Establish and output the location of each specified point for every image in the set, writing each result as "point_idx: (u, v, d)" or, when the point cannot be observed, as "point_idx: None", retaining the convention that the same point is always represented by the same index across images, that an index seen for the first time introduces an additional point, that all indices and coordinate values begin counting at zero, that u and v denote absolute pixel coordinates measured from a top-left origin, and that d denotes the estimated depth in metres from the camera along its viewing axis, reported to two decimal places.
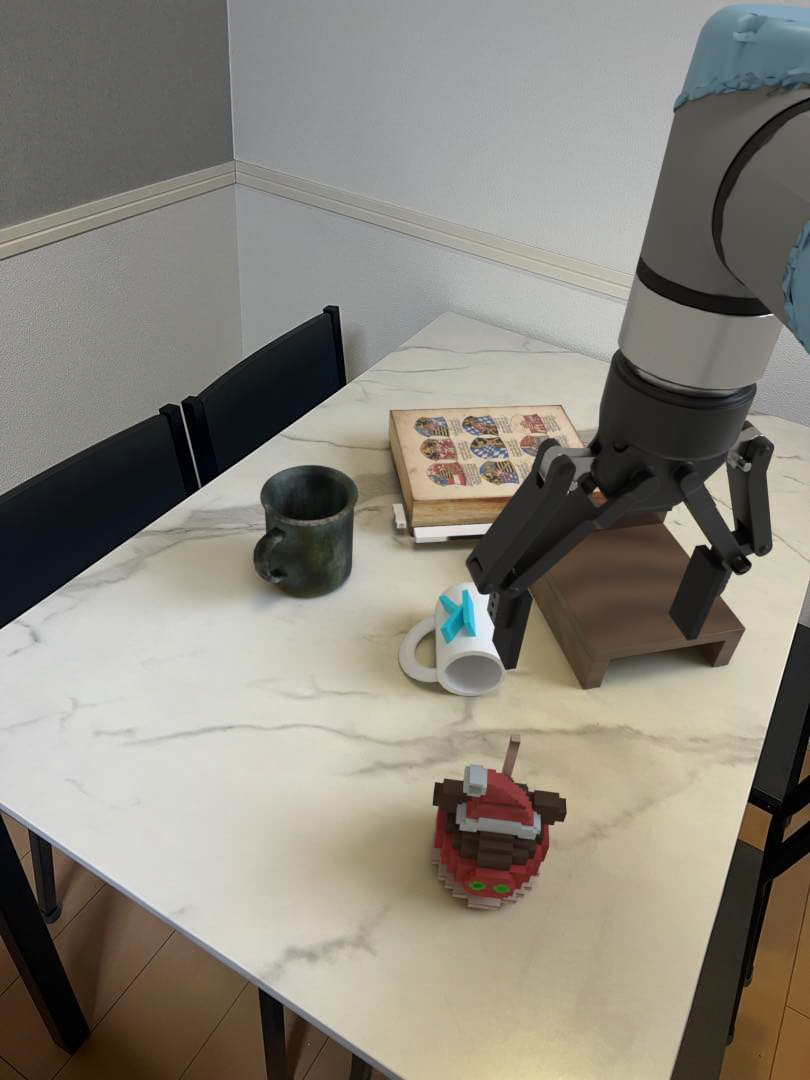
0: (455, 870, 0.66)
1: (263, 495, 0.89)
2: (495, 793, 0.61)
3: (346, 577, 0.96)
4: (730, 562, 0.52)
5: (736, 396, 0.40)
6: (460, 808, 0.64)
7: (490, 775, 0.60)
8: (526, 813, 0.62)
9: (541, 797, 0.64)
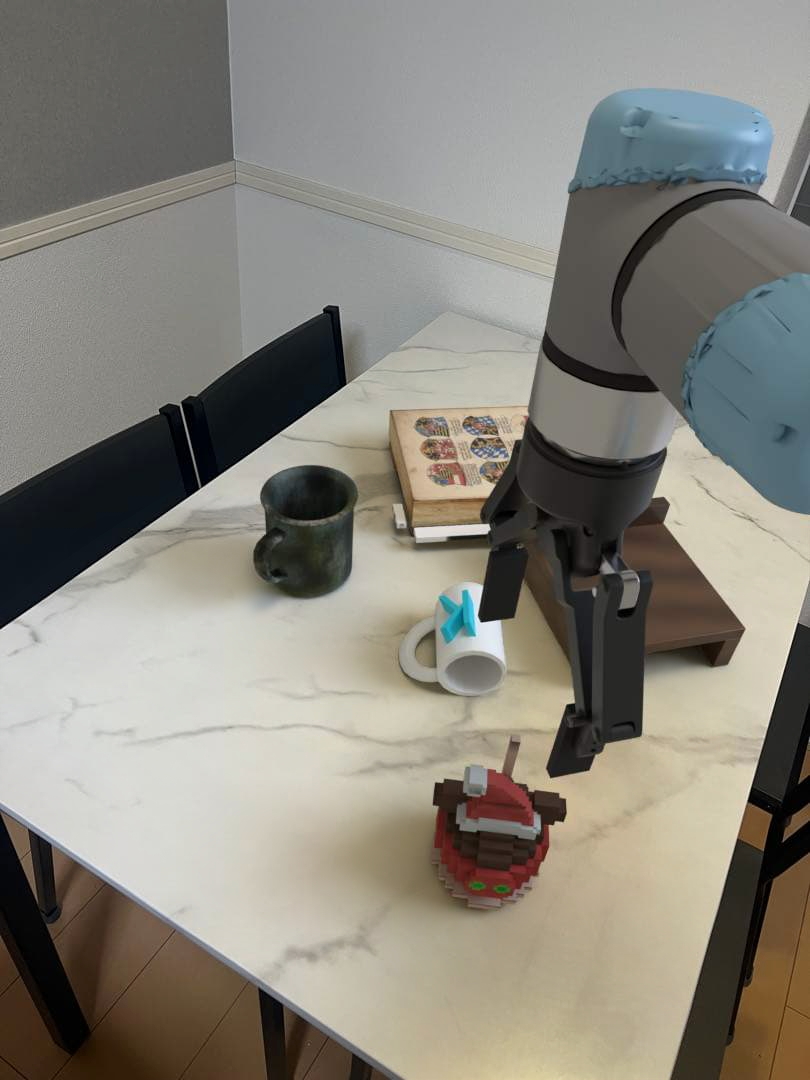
0: (455, 870, 0.66)
1: (263, 495, 0.89)
2: (495, 793, 0.61)
3: (346, 577, 0.96)
4: (577, 709, 0.45)
5: (548, 449, 0.41)
6: (460, 808, 0.64)
7: (490, 775, 0.60)
8: (526, 813, 0.62)
9: (541, 797, 0.64)
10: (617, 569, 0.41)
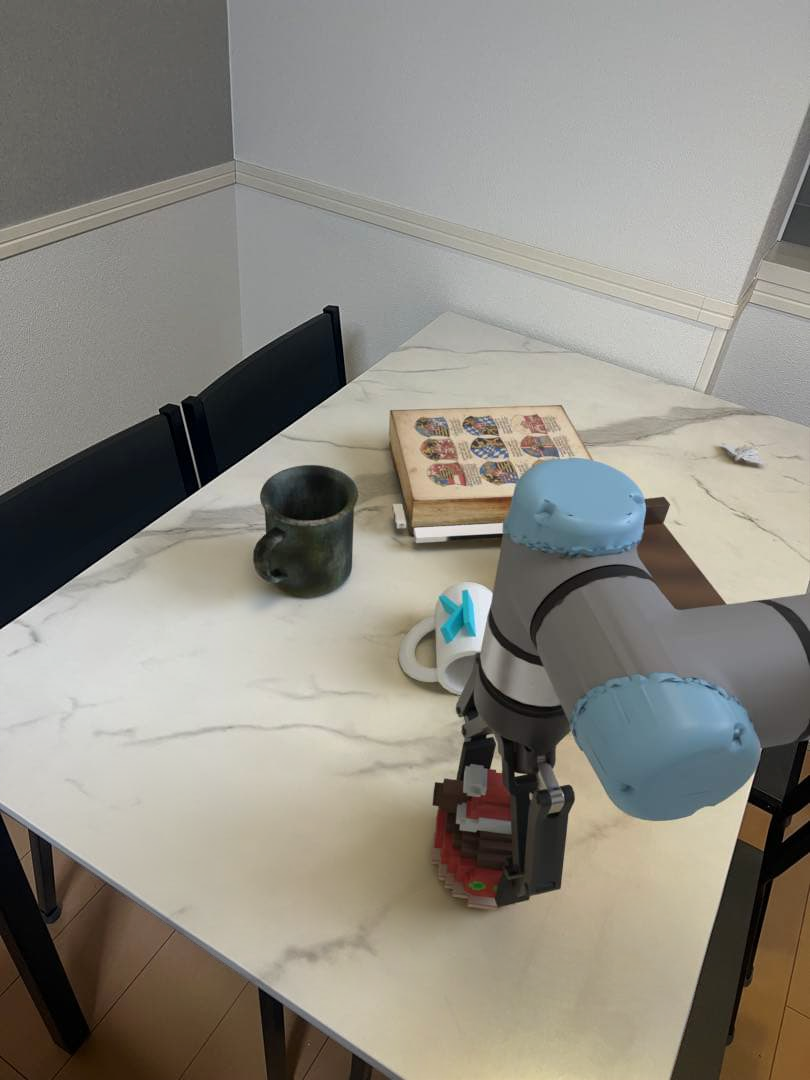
0: (455, 870, 0.66)
1: (263, 495, 0.89)
2: (495, 793, 0.61)
3: (346, 577, 0.96)
4: (513, 863, 0.59)
5: (495, 690, 0.53)
6: (460, 808, 0.64)
7: (490, 775, 0.60)
8: None
9: None
10: (548, 785, 0.53)
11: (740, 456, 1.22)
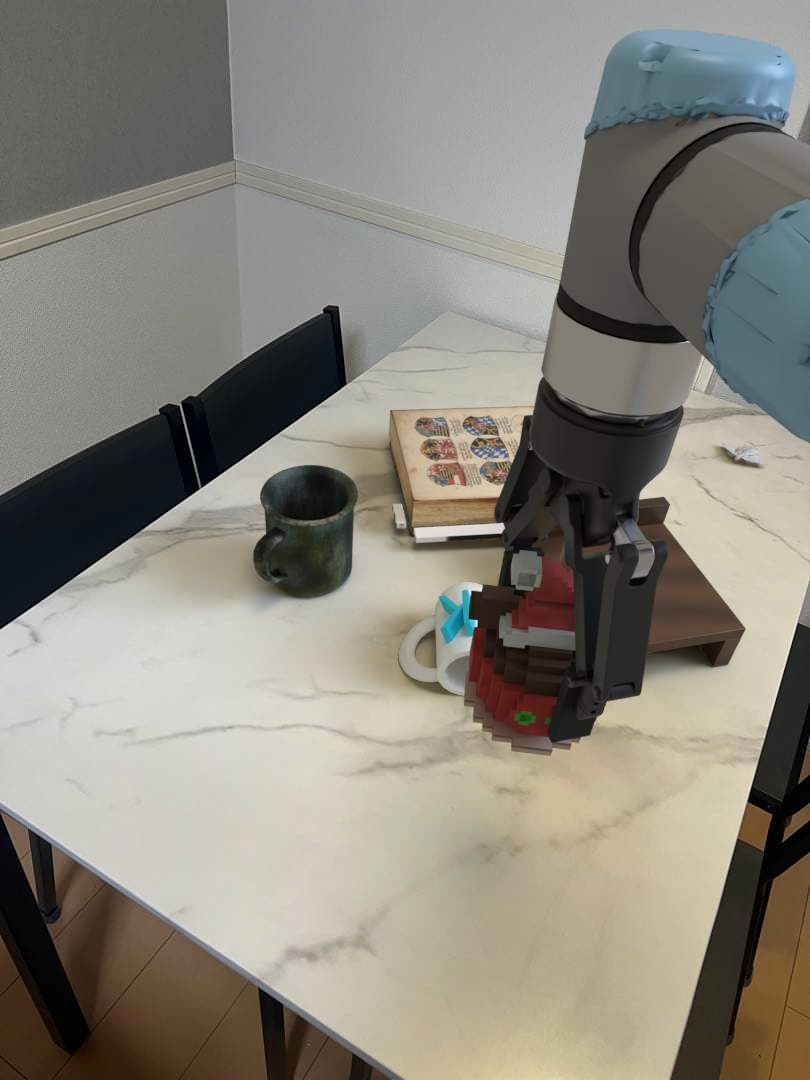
0: (496, 703, 0.53)
1: (263, 495, 0.89)
2: (552, 586, 0.48)
3: (346, 577, 0.96)
4: (577, 669, 0.46)
5: (563, 407, 0.40)
6: (504, 620, 0.51)
7: (545, 563, 0.47)
8: None
9: None
10: (633, 539, 0.40)
11: (740, 456, 1.22)
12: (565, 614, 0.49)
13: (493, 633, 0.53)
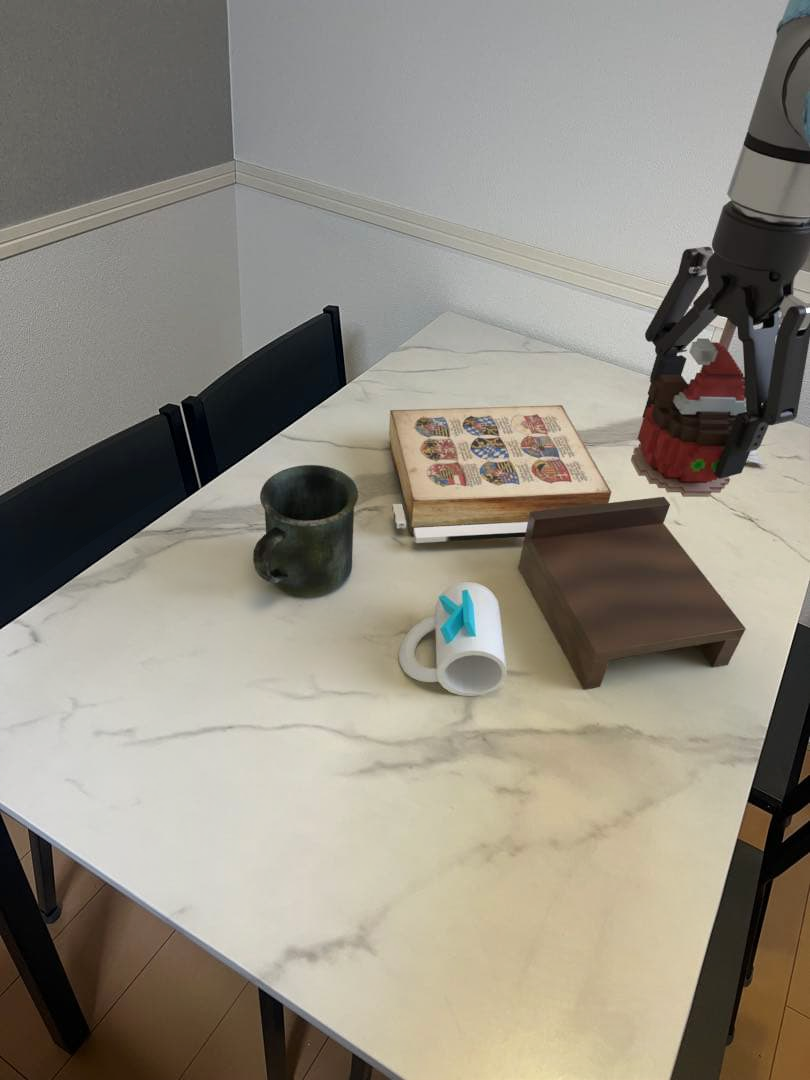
0: (673, 461, 0.75)
1: (263, 495, 0.89)
2: (721, 361, 0.70)
3: (346, 577, 0.96)
4: (748, 411, 0.69)
5: (752, 220, 0.62)
6: (678, 397, 0.73)
7: (715, 345, 0.70)
8: (741, 383, 0.72)
9: (744, 380, 0.74)
10: (798, 303, 0.63)
11: None
12: (726, 383, 0.71)
13: (666, 412, 0.75)
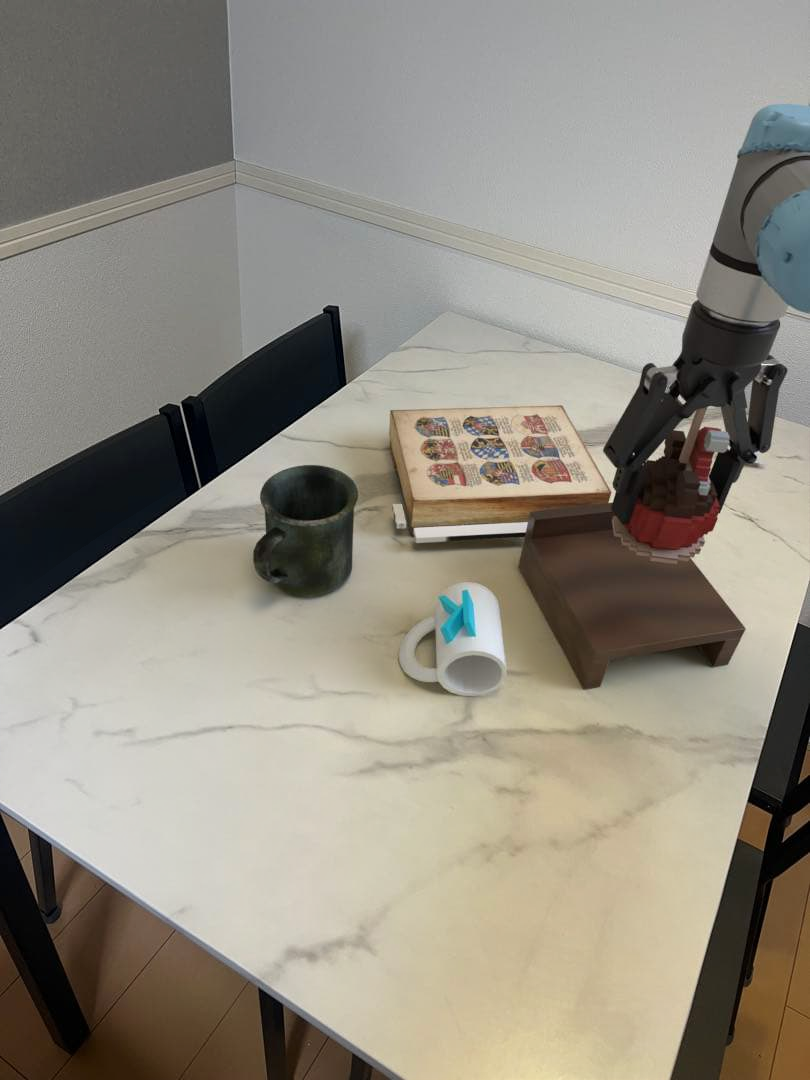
0: None
1: (263, 495, 0.89)
2: None
3: (346, 577, 0.96)
4: (743, 455, 0.79)
5: (768, 327, 0.67)
6: None
7: (713, 430, 0.75)
8: None
9: (679, 438, 0.81)
10: (771, 363, 0.74)
11: None
12: None
13: None
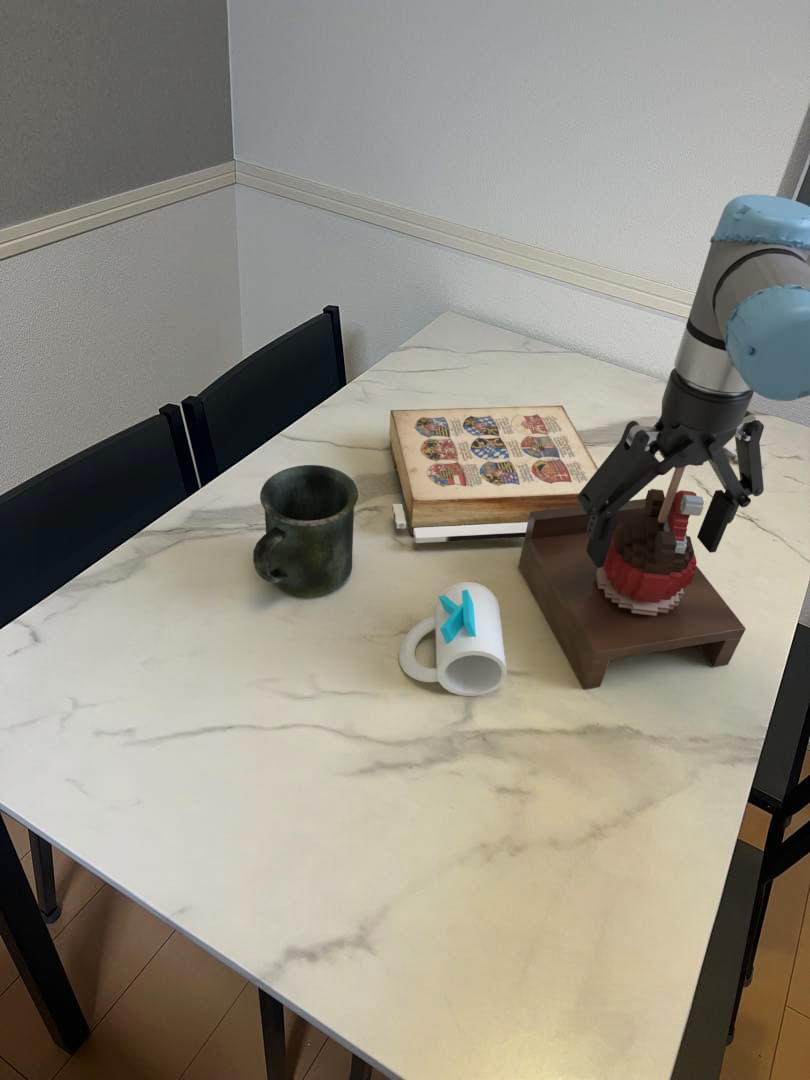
0: None
1: (263, 495, 0.89)
2: None
3: (346, 577, 0.96)
4: (737, 499, 0.83)
5: (742, 396, 0.71)
6: None
7: (688, 494, 0.80)
8: None
9: (658, 497, 0.86)
10: (747, 421, 0.78)
11: None
12: None
13: None
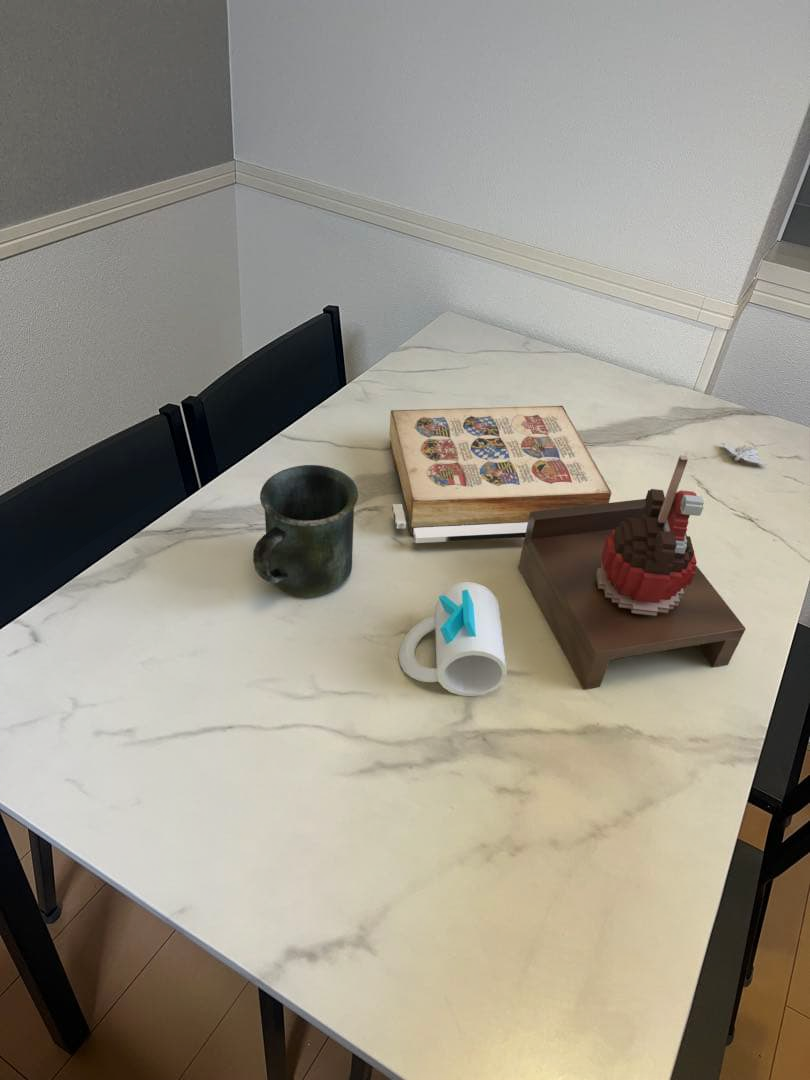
0: None
1: (263, 495, 0.89)
2: None
3: (346, 577, 0.96)
4: None
5: None
6: None
7: (688, 494, 0.80)
8: None
9: (658, 497, 0.86)
10: None
11: (740, 456, 1.22)
12: None
13: None
